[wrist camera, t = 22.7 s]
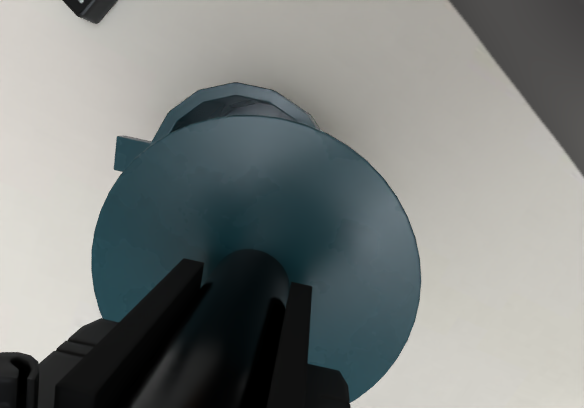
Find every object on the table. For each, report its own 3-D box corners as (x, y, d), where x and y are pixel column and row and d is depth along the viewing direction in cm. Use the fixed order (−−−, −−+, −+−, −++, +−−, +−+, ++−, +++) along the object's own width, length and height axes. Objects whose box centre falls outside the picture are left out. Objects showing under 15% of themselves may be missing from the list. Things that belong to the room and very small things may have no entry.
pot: (179, 76, 34) (118, 57, 24) (372, 117, 33) (394, 115, 23) (162, 207, 37) (101, 240, 27) (340, 246, 36) (347, 296, 26)
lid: (120, 84, 15) (-276, 12, 5) (454, 153, 15) (742, 220, 5) (96, 371, 18) (-179, 675, 8) (370, 434, 18) (433, 837, 8)
